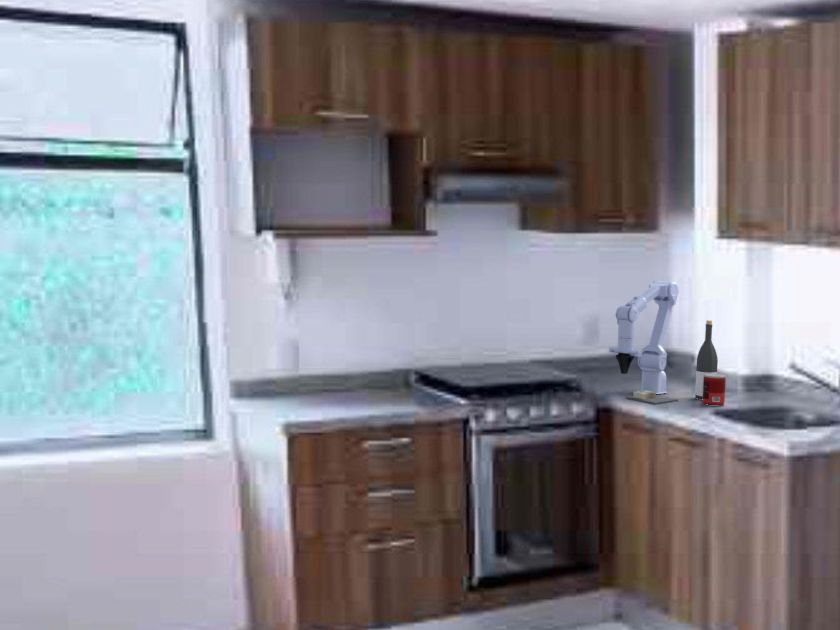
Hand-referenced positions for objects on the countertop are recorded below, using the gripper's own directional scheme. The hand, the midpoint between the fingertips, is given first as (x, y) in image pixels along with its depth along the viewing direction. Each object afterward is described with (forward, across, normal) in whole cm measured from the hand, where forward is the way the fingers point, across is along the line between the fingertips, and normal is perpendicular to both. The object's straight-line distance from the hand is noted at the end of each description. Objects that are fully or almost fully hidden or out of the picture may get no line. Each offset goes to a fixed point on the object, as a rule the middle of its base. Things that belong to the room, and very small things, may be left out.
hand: (624, 373), depth 384 cm
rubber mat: (+9, +8, +7) cm, 14 cm away
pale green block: (+8, +8, +6) cm, 13 cm away
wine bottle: (+10, +17, +27) cm, 33 cm away
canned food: (+10, +26, +20) cm, 34 cm away
